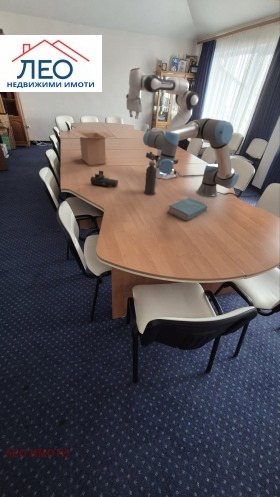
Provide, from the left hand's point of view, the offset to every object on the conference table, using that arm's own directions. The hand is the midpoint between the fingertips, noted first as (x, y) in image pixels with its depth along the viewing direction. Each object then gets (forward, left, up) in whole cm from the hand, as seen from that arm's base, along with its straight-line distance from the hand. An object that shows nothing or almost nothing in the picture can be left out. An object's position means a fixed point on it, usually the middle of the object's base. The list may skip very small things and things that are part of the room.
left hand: (133, 118), depth 170 cm
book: (-10, +71, -48) cm, 86 cm away
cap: (-1, +33, -24) cm, 41 cm away
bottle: (-1, +33, -48) cm, 58 cm away
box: (+16, -63, -48) cm, 81 cm away
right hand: (+3, +49, -16) cm, 52 cm away
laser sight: (+28, +7, -48) cm, 56 cm away
